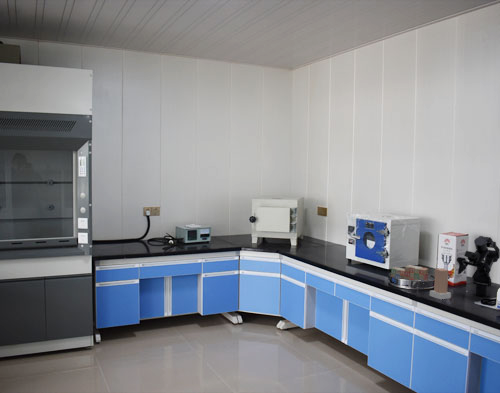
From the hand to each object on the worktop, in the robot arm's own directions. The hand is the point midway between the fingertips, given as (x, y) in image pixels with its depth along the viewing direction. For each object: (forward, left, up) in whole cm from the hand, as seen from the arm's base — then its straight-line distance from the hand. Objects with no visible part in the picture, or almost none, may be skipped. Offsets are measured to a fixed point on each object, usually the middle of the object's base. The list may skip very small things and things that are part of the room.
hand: (465, 276), depth 253 cm
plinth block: (+9, -9, -14) cm, 18 cm away
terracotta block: (+8, -9, -11) cm, 16 cm away
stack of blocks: (+6, -35, -14) cm, 38 cm away
